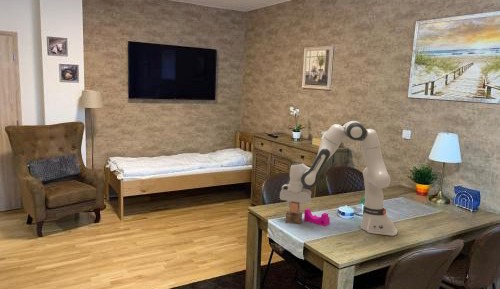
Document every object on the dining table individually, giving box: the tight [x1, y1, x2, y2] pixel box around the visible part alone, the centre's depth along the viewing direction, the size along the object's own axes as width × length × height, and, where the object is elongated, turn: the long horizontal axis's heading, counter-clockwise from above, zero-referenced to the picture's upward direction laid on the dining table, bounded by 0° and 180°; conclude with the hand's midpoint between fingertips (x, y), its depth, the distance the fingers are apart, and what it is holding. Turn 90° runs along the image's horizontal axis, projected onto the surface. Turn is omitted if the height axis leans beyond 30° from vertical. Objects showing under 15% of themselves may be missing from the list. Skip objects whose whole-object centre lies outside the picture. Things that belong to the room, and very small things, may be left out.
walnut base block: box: [285, 210, 303, 225], centre depth 247 cm, size 10×10×5 cm
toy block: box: [303, 208, 331, 227], centre depth 246 cm, size 15×6×8 cm, turn 53°
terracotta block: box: [289, 201, 301, 213], centre depth 246 cm, size 5×5×6 cm
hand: (294, 208), depth 246 cm, fingers closed on terracotta block, 5 cm apart
